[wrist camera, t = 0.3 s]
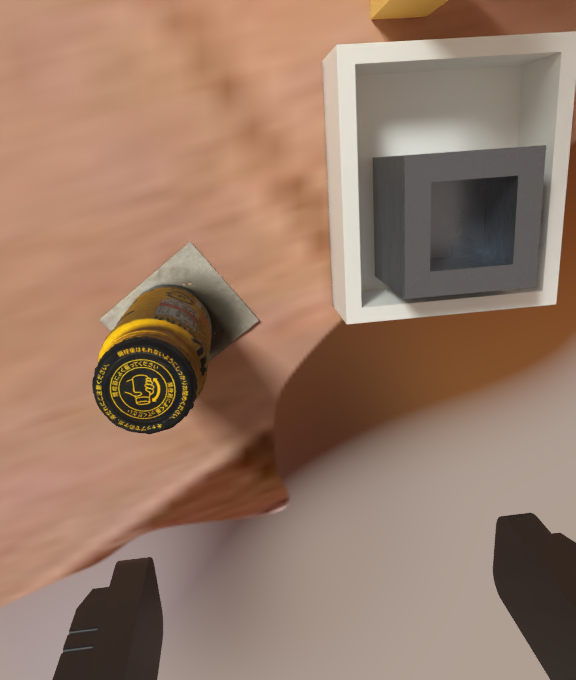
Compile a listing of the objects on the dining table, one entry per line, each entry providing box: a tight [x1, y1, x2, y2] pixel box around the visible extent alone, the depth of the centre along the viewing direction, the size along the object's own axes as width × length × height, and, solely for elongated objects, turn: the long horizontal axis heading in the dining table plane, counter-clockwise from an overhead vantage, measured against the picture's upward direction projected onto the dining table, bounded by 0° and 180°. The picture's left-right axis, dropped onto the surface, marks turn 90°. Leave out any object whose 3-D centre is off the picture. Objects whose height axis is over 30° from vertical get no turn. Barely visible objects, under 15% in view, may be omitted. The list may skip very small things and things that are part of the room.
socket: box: [373, 145, 546, 299], centre depth 34 cm, size 8×8×7 cm
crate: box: [322, 31, 576, 324], centre depth 35 cm, size 16×14×5 cm
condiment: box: [92, 242, 259, 434], centre depth 33 cm, size 7×8×12 cm
